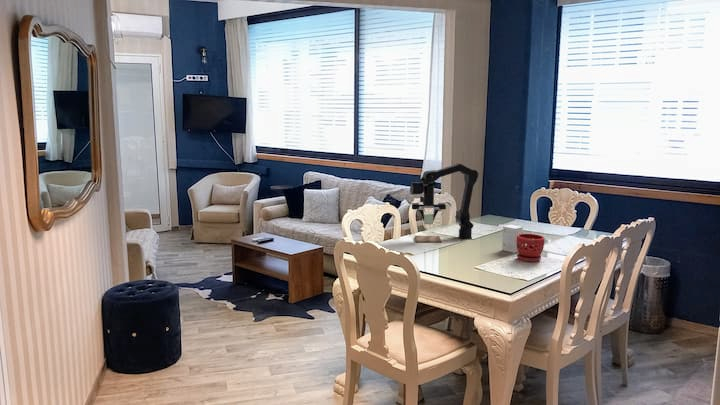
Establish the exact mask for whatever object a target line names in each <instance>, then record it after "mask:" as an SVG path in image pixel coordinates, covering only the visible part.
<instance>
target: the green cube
mask: <svg viewBox="0 0 720 405" xmlns="http://www.w3.org/2000/svg"><path fill="white" fill-rule="evenodd" d="M423 225H434V221H433V213H424V221H423Z"/></svg>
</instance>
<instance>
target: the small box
mask: <svg viewBox="0 0 720 405" xmlns="http://www.w3.org/2000/svg"><path fill="white" fill-rule="evenodd" d="M523 232H524V229H523V226H520V225H519V226H518V225H514V224H507V225H503V226H502V240H501V242H502V245H501V246H502V247H501V251H505V252H509V253H512V254H513V253H514V254H516V253H517V254H518V250H517V235H518V234H523Z"/></svg>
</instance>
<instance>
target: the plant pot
mask: <svg viewBox="0 0 720 405" xmlns="http://www.w3.org/2000/svg"><path fill="white" fill-rule="evenodd" d="M545 242H546V240H545V236H543V235H539V234H535V233H522V234H518V235H517V250H518V252H517V254H516V257H517V258H518V259H519V260H520V261H523V262H528V261H529V262H530V263H532V262H533V263H534V262H538V261H540V260H541V259H542V256H541V254H543V250H544V247H545Z"/></svg>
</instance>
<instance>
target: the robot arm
mask: <svg viewBox="0 0 720 405" xmlns="http://www.w3.org/2000/svg"><path fill="white" fill-rule="evenodd" d="M458 172H460V173H461V174H463V176H464V177H463V180H464V189H463V193H462V200H461V205H460V208H459V209H458V210H456V212H455V221H456V223H458V226H459V229H458V237H459V238H460V239H461V240H462V239H463V240H464V239H465V240H466V239H468V240H469V239H471V240H472V239H473V238H472V229H473V228H474V223H472V221H471V220H470V219H471V215H470V206H471V205H470V204H471V201H472V195H473V191H474V190H473V189H474V187H475V186H474V185H475V184H476V183H477V181H478V178H479V172H478V170H476V169H473V168H470V167H467V166H465V165H464V164H463V163H459V162H458V163H455V164H452V165H450V166H446V167H443V168H440V169H434V170H432V169H430V170H426V171H424V172H423V173H422V176H421V178H420V180H419V181H418V182H414V181H413V182H411V185H410V187H409V193H410V195H415V196H416V195H422V194H423V196H420V197H419V202H420V203H422V204H420V203H419V202H412V203H411V210H417V212H419V213H420V215H421V218H422V221H423V222H424V214H425V213H424V209H430V208H431V209H433V213H432V214H433V222H434V221H435V219H436V216H437V214H438V212H440V211H441V210H447V205H446V203H444V202H438V203H437V204H435V187H437V186H438V183H436V181H437V180H439V179H440V178H442V177H445V176H447V175H451V174H454V173H458Z"/></svg>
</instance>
